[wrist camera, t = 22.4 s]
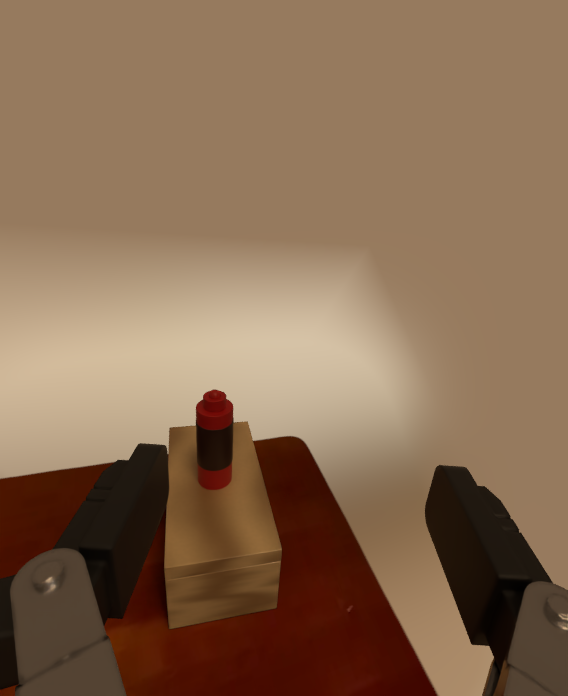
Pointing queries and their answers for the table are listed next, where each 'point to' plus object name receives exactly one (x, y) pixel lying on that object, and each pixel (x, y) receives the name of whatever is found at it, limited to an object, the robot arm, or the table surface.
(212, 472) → the red water bottle
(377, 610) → the table surface
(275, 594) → the wooden block
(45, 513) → the table surface
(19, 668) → the robot arm
